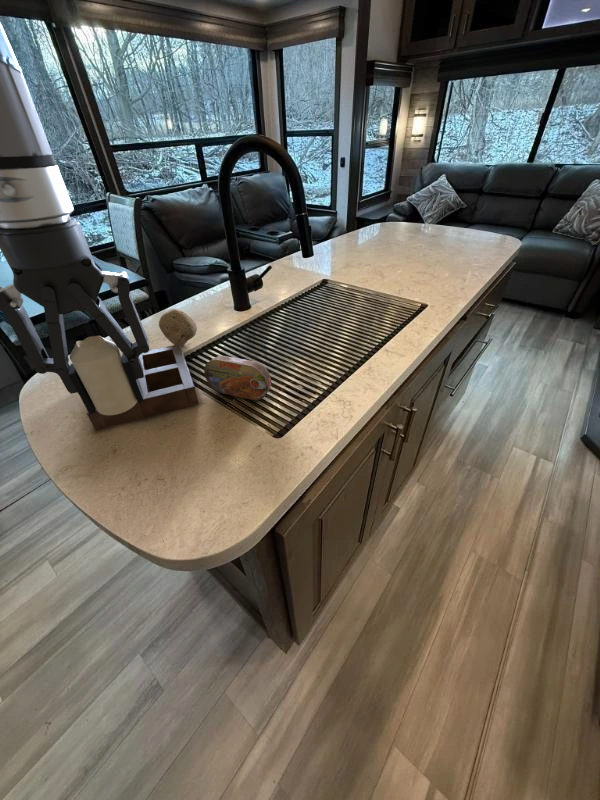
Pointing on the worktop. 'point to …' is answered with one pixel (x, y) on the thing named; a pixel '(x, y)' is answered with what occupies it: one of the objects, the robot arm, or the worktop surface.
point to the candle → (103, 375)
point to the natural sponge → (177, 326)
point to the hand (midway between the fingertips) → (117, 401)
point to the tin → (238, 377)
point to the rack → (156, 388)
